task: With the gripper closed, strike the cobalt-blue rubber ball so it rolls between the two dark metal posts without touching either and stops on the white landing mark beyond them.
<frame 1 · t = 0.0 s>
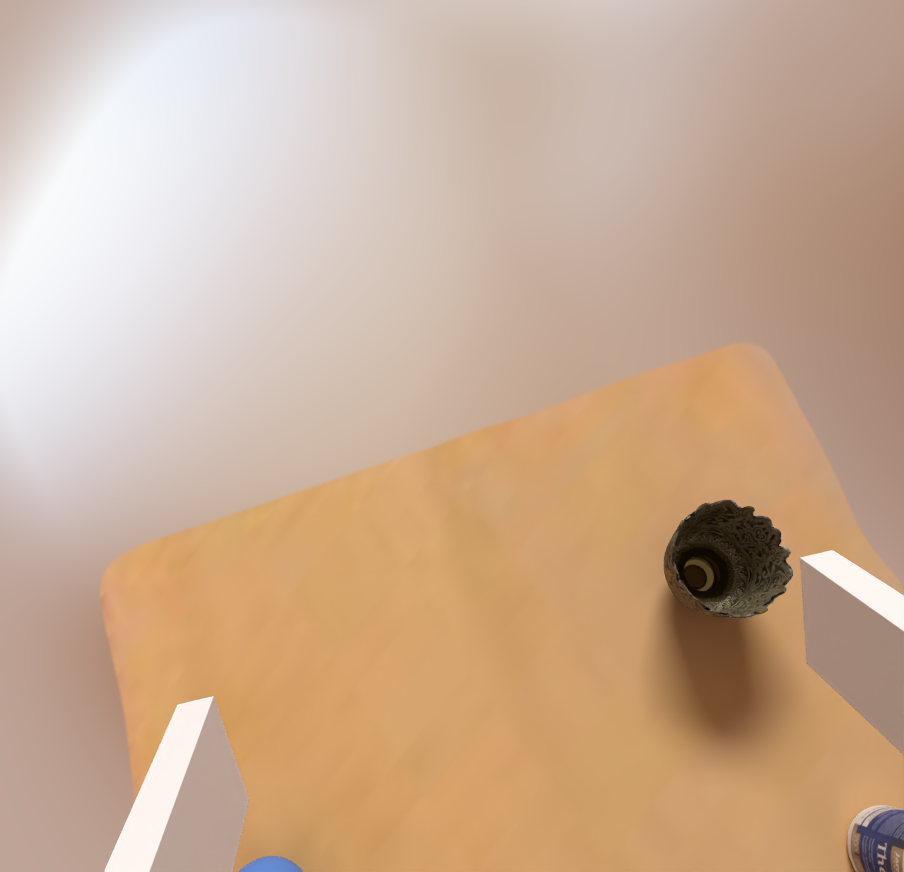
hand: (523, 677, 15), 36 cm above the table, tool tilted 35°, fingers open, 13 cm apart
pill bottle: (884, 850, 45), on the table
cup: (693, 577, 51), on the table
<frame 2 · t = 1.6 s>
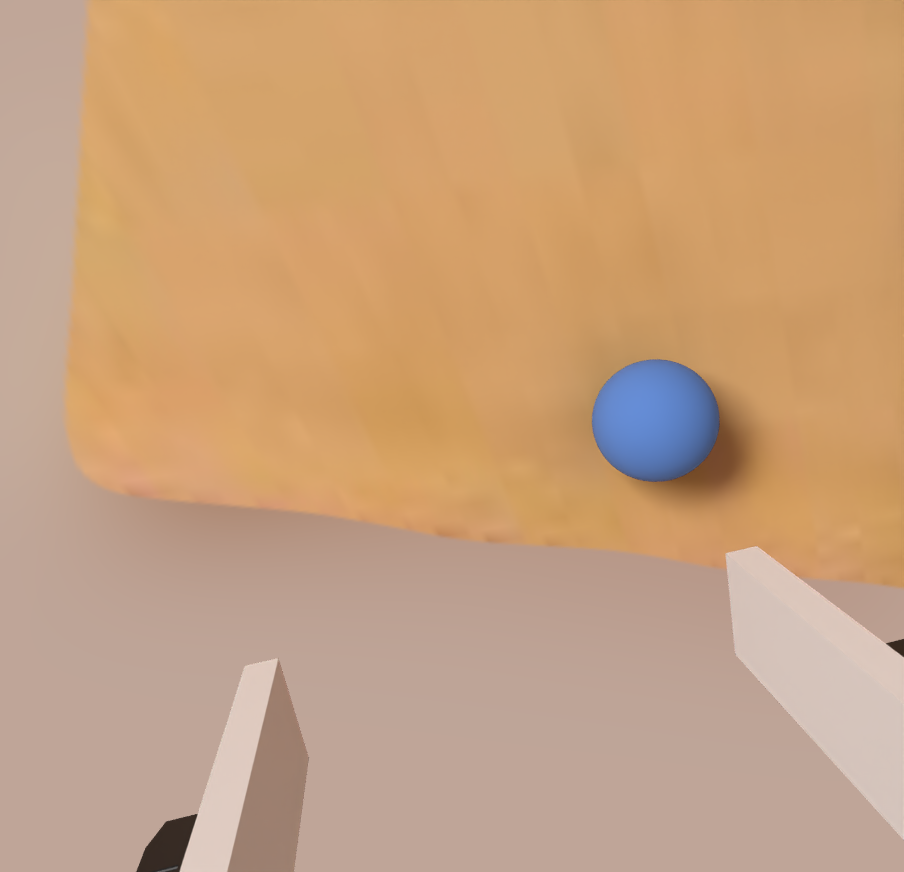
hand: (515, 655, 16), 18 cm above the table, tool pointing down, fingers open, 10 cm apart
ball: (654, 420, 31), on the table
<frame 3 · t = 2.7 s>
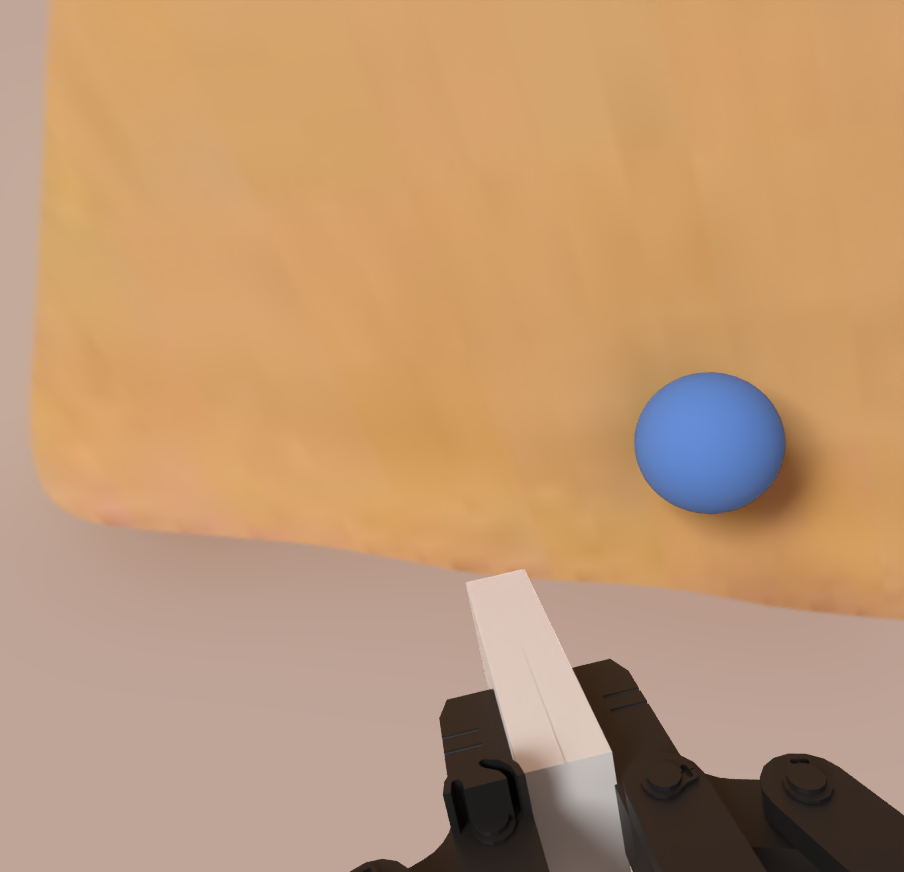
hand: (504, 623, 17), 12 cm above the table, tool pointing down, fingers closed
ball: (707, 442, 27), on the table
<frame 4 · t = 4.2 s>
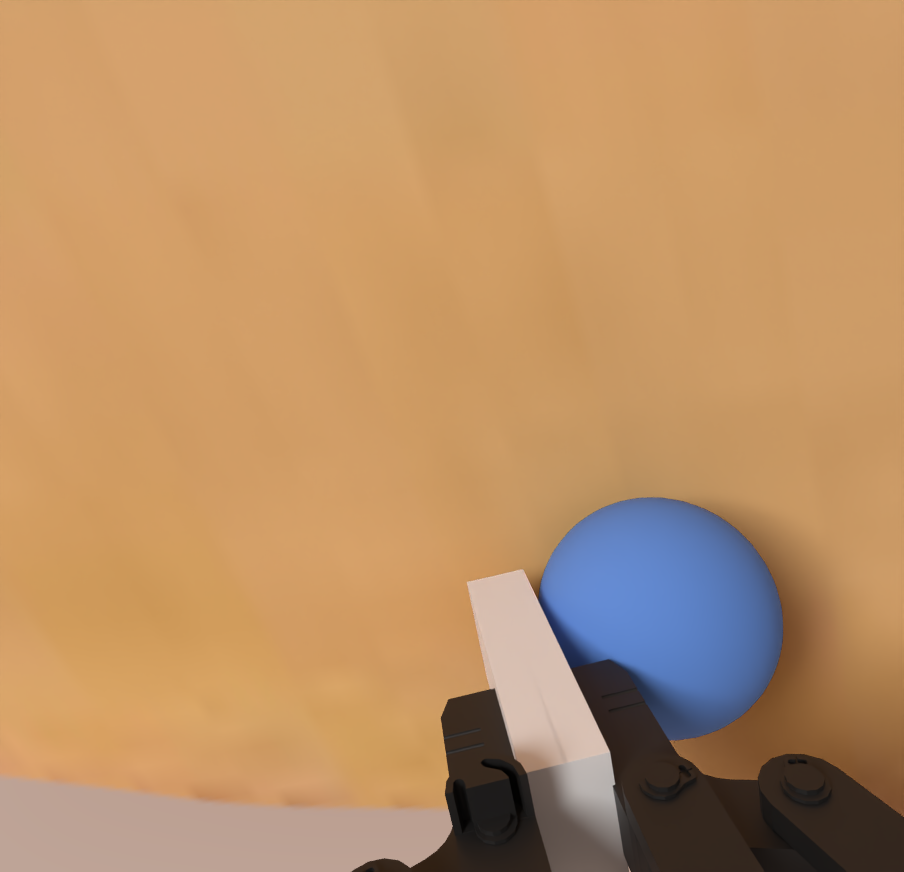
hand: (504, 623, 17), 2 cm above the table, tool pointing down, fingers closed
ball: (654, 613, 16), on the table, touching gripper
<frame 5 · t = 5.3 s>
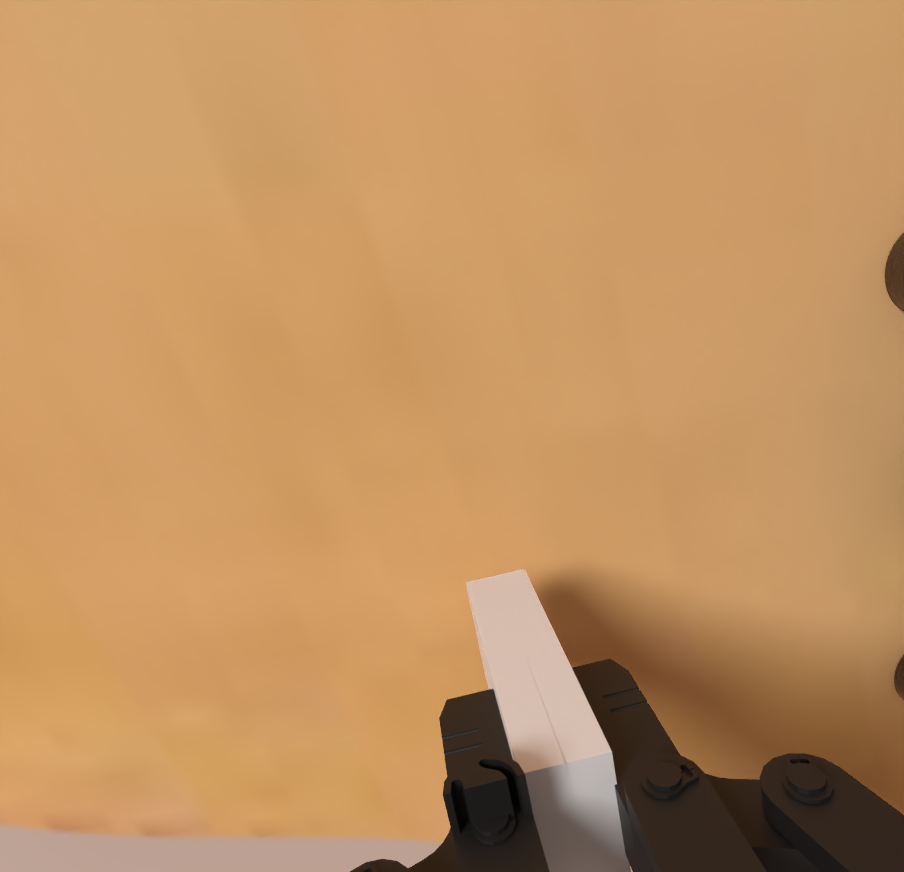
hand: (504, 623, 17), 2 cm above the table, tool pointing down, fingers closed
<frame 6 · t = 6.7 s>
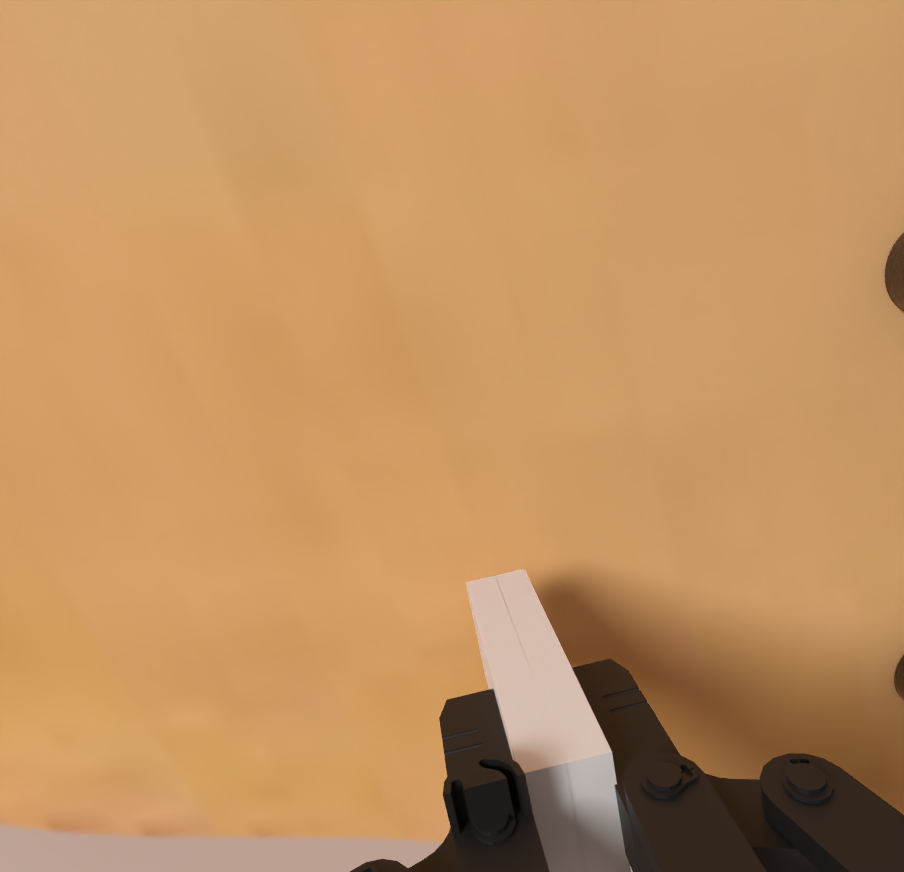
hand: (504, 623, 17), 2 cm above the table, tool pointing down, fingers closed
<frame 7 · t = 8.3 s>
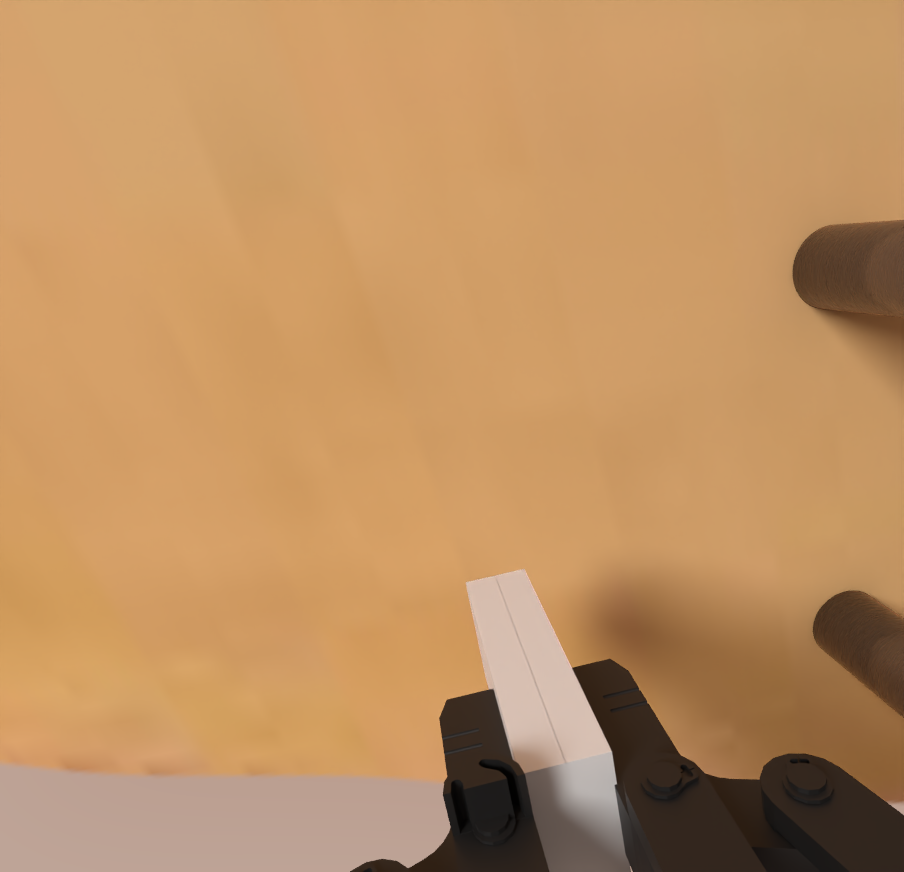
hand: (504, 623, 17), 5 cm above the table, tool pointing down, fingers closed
post 1: (845, 622, 24), on the table
post 2: (831, 267, 21), on the table
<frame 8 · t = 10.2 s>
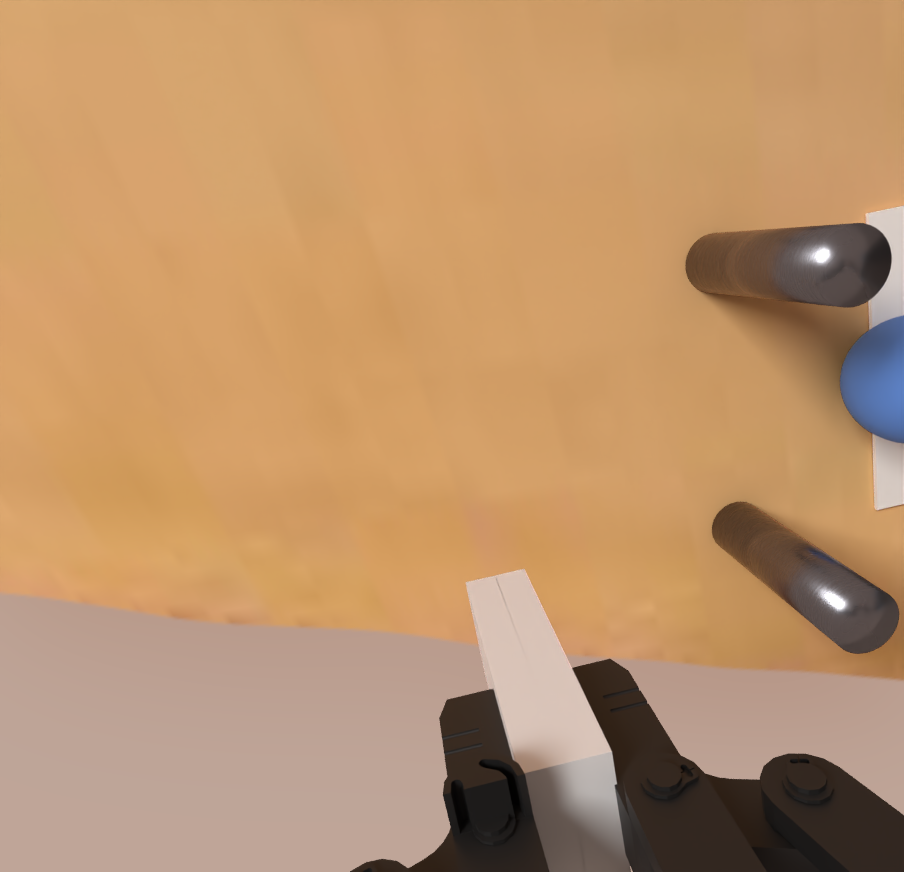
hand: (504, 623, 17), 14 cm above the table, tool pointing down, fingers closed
post 1: (736, 526, 33), on the table
post 2: (713, 263, 30), on the table
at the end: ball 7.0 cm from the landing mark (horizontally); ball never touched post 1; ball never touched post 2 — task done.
